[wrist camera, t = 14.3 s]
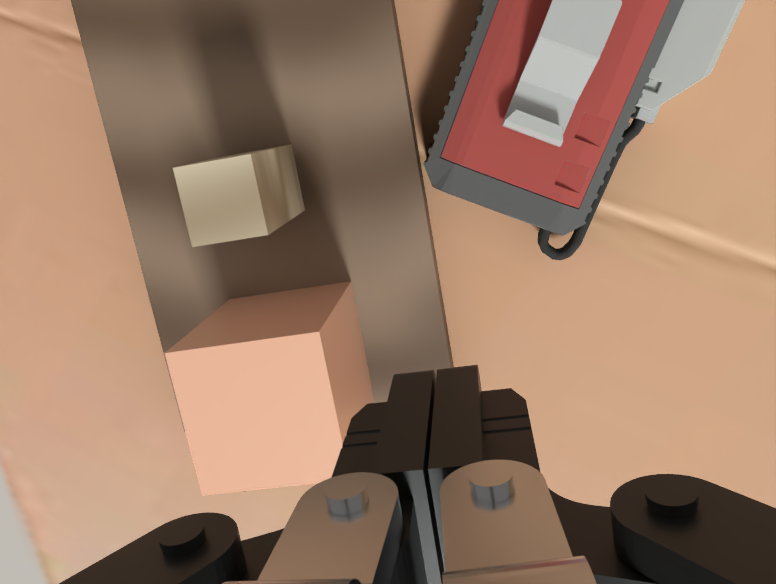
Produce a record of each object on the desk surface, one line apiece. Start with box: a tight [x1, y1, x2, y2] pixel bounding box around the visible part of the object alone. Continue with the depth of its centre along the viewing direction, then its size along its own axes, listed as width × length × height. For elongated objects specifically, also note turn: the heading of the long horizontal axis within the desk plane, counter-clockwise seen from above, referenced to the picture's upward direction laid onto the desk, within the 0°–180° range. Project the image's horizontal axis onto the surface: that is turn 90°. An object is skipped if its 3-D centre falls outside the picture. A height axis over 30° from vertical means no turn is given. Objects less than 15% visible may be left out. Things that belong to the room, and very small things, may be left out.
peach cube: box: [165, 281, 374, 496], centre depth 27 cm, size 5×5×7 cm
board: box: [71, 0, 454, 431], centre depth 26 cm, size 21×12×7 cm, turn 10°
